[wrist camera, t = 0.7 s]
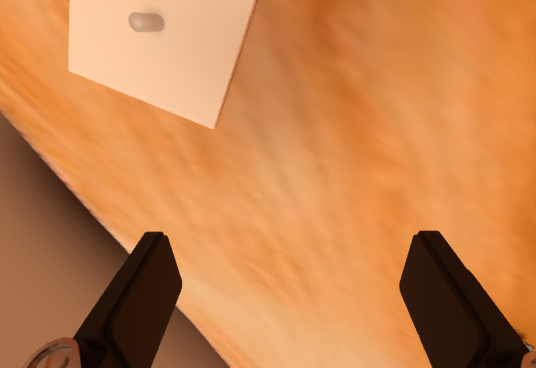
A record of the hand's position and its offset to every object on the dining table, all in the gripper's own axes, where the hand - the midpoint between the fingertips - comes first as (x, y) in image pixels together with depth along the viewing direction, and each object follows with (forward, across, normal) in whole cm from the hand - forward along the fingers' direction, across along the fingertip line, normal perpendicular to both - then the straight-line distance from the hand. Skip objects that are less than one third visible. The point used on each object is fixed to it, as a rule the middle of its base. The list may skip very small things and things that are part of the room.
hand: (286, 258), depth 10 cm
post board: (+27, +14, -9) cm, 32 cm away
